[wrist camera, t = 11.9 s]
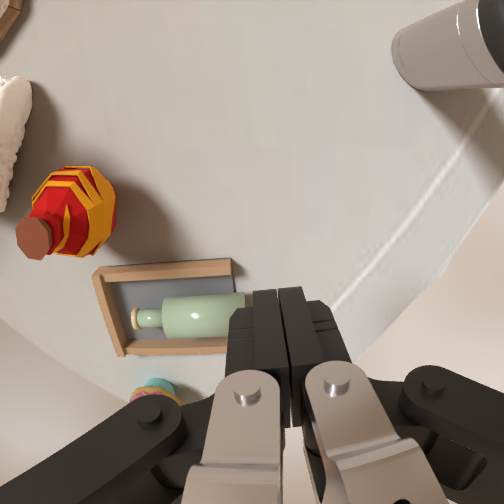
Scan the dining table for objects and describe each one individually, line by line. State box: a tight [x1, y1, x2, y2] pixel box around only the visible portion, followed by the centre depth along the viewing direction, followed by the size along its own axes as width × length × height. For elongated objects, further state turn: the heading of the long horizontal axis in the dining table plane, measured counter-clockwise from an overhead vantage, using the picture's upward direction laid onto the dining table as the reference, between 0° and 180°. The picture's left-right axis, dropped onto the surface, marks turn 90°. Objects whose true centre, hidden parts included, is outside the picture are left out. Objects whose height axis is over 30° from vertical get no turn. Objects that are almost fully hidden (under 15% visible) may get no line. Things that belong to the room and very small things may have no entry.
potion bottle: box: [16, 166, 116, 260], centre depth 29 cm, size 10×10×15 cm
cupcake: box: [130, 378, 182, 406], centre depth 43 cm, size 9×8×12 cm
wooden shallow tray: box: [91, 258, 234, 357], centre depth 41 cm, size 18×13×3 cm
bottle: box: [131, 292, 246, 339], centre depth 39 cm, size 5×5×15 cm
